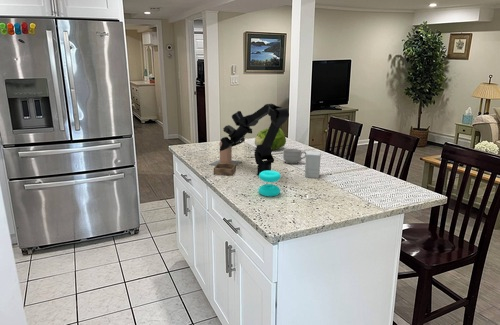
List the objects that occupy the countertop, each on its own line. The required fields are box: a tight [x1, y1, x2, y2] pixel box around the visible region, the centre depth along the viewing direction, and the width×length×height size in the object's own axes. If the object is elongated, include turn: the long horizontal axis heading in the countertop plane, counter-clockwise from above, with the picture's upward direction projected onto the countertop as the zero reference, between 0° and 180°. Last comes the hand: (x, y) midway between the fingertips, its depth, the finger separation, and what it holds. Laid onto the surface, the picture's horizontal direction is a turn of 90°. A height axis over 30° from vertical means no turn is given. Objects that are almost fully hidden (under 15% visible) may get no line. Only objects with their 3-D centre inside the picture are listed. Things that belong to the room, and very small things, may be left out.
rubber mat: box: [209, 159, 243, 167], centre depth 221 cm, size 14×14×1 cm
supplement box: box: [304, 150, 322, 179], centre depth 199 cm, size 7×7×13 cm
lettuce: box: [254, 127, 287, 151], centre depth 255 cm, size 16×21×15 cm
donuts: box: [258, 169, 282, 197], centre depth 172 cm, size 10×10×10 cm
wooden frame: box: [213, 163, 237, 177], centre depth 203 cm, size 10×10×4 cm
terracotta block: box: [219, 141, 233, 164], centre depth 219 cm, size 5×5×13 cm
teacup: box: [282, 148, 307, 165], centre depth 224 cm, size 14×11×8 cm
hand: (224, 148), depth 219 cm, fingers open, 9 cm apart
